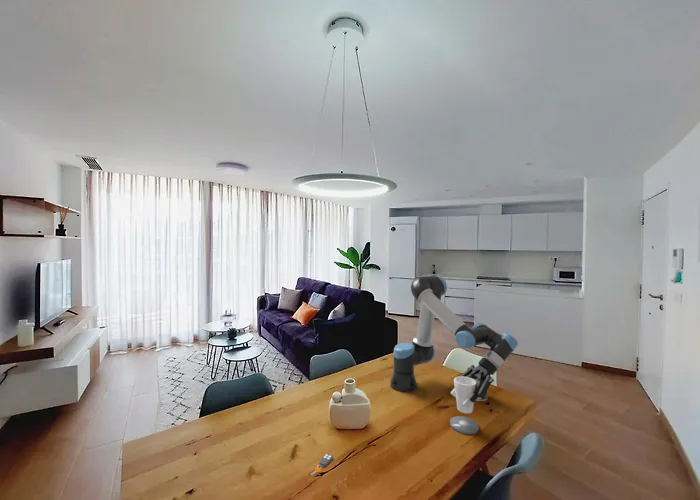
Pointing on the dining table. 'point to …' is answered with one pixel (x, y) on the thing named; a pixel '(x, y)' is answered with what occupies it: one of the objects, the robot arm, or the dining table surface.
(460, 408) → the foam cup
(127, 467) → the dining table surface
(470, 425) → the trivet
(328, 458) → the key chain
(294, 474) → the dining table surface
